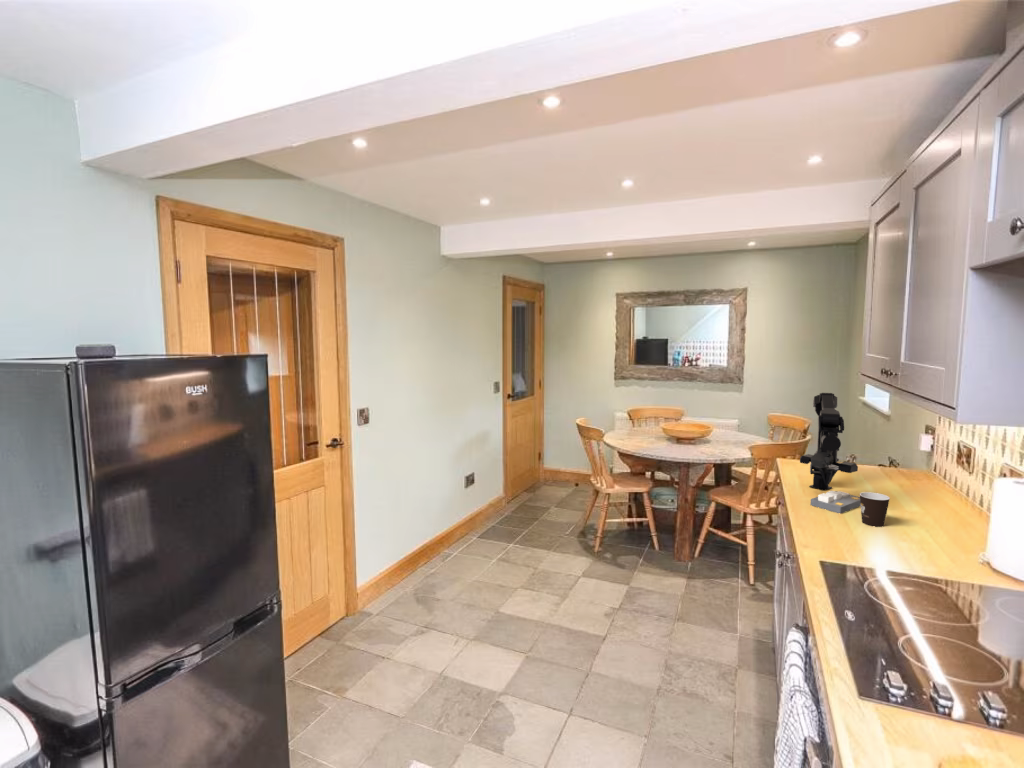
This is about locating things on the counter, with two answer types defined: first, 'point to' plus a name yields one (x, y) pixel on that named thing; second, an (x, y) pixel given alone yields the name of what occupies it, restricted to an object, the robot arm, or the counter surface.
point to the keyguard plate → (838, 504)
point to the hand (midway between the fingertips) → (826, 485)
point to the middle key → (835, 495)
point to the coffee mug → (873, 508)
